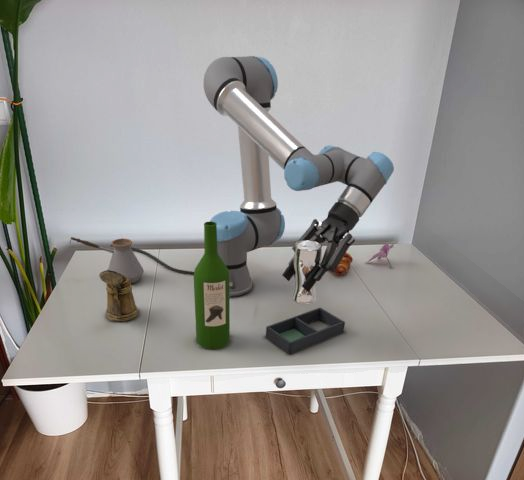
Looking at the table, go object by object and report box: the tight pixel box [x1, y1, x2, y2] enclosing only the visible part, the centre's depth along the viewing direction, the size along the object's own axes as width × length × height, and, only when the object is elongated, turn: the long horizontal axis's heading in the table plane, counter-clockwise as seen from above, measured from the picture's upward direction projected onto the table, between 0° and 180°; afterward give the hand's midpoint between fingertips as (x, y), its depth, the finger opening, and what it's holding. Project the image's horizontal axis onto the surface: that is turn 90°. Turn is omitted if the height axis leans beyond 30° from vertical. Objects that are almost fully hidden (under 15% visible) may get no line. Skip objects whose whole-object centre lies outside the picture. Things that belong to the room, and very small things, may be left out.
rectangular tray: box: [265, 307, 346, 355], centre depth 138 cm, size 10×20×4 cm, turn 127°
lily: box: [366, 240, 399, 268], centre depth 180 cm, size 12×12×10 cm
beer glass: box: [291, 240, 323, 305], centre depth 127 cm, size 7×7×15 cm
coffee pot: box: [69, 236, 144, 284], centre depth 159 cm, size 21×12×15 cm, turn 100°
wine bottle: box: [193, 221, 231, 350], centre depth 126 cm, size 9×9×32 cm
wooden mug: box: [98, 269, 139, 323], centre depth 138 cm, size 9×14×18 cm, turn 2°
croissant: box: [332, 248, 353, 276], centre depth 177 cm, size 21×10×8 cm, turn 1°
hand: (295, 283), depth 127 cm, fingers closed on beer glass, 7 cm apart
